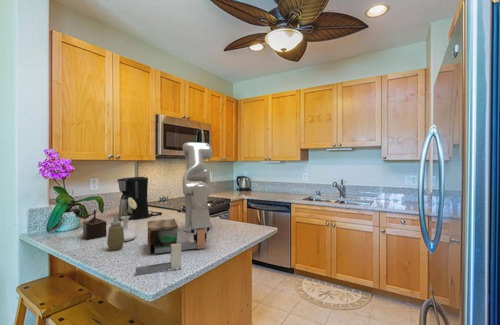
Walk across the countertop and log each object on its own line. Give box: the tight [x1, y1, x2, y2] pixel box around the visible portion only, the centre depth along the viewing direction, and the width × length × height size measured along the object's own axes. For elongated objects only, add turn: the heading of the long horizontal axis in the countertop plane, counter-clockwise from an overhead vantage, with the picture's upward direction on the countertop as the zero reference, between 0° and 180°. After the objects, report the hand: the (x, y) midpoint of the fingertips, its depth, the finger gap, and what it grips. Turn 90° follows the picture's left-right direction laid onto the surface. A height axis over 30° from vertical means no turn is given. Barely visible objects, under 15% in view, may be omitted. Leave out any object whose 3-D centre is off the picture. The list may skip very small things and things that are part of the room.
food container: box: [156, 227, 180, 247], centre depth 131 cm, size 12×6×10 cm, turn 117°
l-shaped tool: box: [135, 242, 182, 276], centre depth 103 cm, size 18×4×10 cm, turn 113°
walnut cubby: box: [147, 218, 179, 256], centre depth 130 cm, size 14×17×13 cm
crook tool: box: [153, 228, 206, 254], centre depth 129 cm, size 25×12×10 cm, turn 113°
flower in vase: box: [121, 197, 137, 242], centre depth 144 cm, size 13×11×25 cm
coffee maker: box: [116, 176, 163, 221], centre depth 204 cm, size 23×32×34 cm
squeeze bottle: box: [106, 214, 125, 251], centre depth 128 cm, size 8×8×18 cm
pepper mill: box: [72, 208, 107, 241], centre depth 147 cm, size 16×11×18 cm
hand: (200, 240), depth 130 cm, fingers closed on crook tool, 4 cm apart
